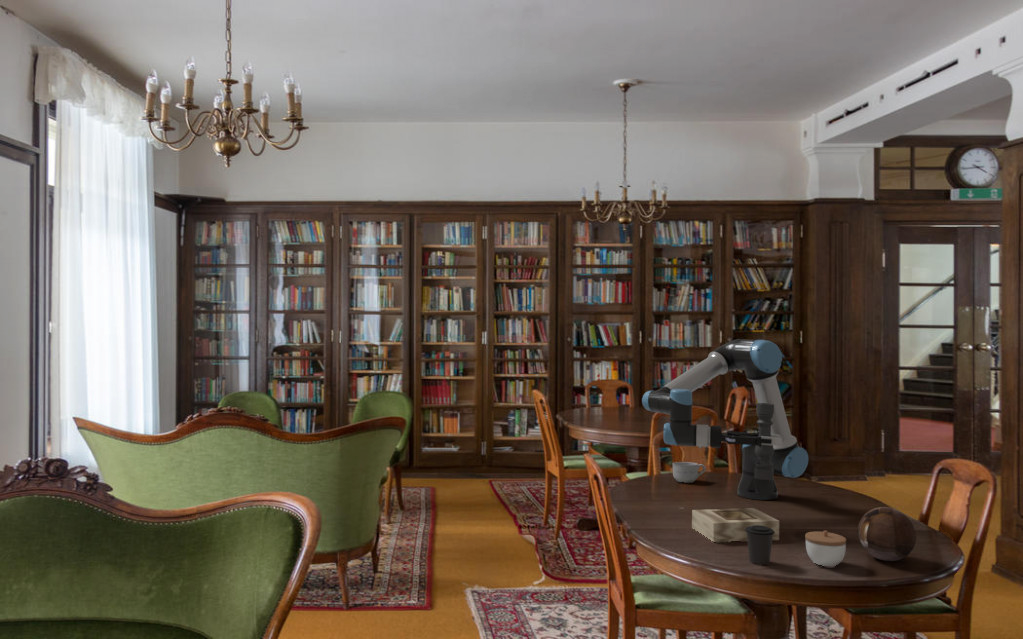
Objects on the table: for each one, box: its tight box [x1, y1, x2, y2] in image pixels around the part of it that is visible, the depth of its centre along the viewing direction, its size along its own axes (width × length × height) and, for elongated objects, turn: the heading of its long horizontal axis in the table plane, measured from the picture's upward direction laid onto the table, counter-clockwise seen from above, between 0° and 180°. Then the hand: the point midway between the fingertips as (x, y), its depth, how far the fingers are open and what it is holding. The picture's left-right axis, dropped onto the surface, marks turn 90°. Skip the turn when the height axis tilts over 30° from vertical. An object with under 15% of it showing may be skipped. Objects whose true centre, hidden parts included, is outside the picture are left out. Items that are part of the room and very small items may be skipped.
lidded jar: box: [804, 530, 847, 567], centre depth 208 cm, size 11×11×9 cm
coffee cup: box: [745, 525, 775, 566], centre depth 209 cm, size 8×8×10 cm
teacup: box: [672, 461, 706, 484], centre depth 314 cm, size 14×11×8 cm
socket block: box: [691, 507, 780, 543], centre depth 237 cm, size 22×16×6 cm
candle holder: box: [754, 402, 775, 480], centre depth 248 cm, size 6×6×25 cm
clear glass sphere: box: [857, 506, 917, 562], centre depth 213 cm, size 15×15×15 cm
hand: (781, 440), depth 247 cm, fingers closed on candle holder, 5 cm apart
